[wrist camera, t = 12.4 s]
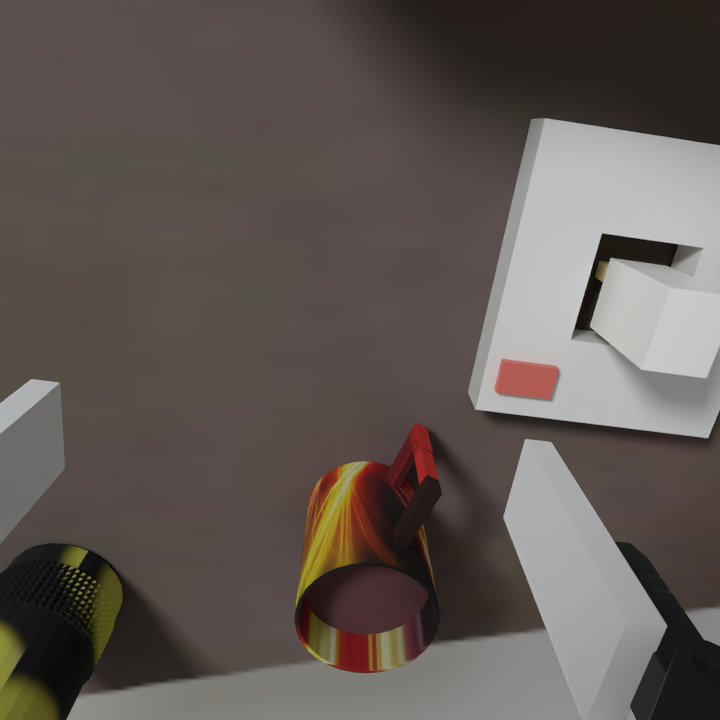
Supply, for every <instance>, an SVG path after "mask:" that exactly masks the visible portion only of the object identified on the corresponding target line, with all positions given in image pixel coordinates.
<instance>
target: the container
mask: <svg viewBox="0 0 720 720" xmlns="http://www.w3.org/2000/svg"><path fill="white" fill-rule="evenodd" d="M122 601H123V594H122V585H121V583H120V581H119V579H118V576H117V575H116V573H115V572H114V571H113V570H112V568H111V567H110V566H109V565H108V564H107V563H106V562H105V561H103V560H102V559H101V558H100V557H98V556H97V555H95V554H93V553H91V552H90V551H88V550H85V549H82V548H79V547H75V546H72V545H69V544H53V543H50V544H44V545H38V546H35V547H32V548H30V549H27V550H25V551H24V552H23V553H21V554H20V555H19V556H17V557H16V558H15V559H14V560H13V562H12V563H11V564H10V565H9V566H8V568H7V569H6V570H4V571H3V572H2V573H1V574H0V720H66V719H67V717H68V715H69V713H70V711H71V709H72V707H73V705H74V703H75V701H76V699H77V697H78V695H79V693H80V690H81V688H82V686H83V685H84V684H85V683H86V681H88V680H89V677H90V676H91V675H92V672H93V671H94V669H95V666H96V665H97V663H98V660H99V659H100V657H101V654H102V653H103V651H104V650H103V649H104V648H105V646H106V643H107V642H108V640H109V637H110V636H111V632H112V631H113V627H114V626H115V624H114V622H115V621H116V620H115V619H116V617H117V614H118V612H119V609H120V607H121V604H122Z"/></svg>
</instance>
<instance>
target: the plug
mask: <svg viewBox="0 0 720 720" xmlns="http://www.w3.org/2000/svg"><path fill="white" fill-rule="evenodd" d="M595 278H597V279H599V280H600V281H602V282H603V285H602V288H601V291H600V294H599V298H598V301H597V304H596V308H595V311H594V314H593V317H592V321H591V324H590V327H591V328H592V329H593V330H594V331H596V332H597V333H598V334H599V335H600V336H602V337H603V338H604V339H605V340H606V341H608V342H609V343H610V344H611V345H612V346H614V347H615V348H616V349H617V350H618V351H620V352H621V353H622V354H623V355H624V356H626V357H627V358H628V359H629V360H630V361H632V362H633V363H634V364H635V365H636V366H638V367H639V368H640V369H641V370H646V371H654V372H662V373H669V374H677V375H684V376H692V377H700V378H707V376H708V374H709V371H710V368H711V366H712V363H713V361H714V358H715V356H716V353H717V351H718V348H719V346H720V289H719V288H717V287H714V286H712V285H710V284H707V283H705V282H703V281H700V280H698V279H696V278H693V277H691V276H689V275H687V274H684V273H682V272H680V271H677V270H675V269H673V268H670V267H668V266H664V265H657V264H650V263H643V262H636V261H629V260H622V259H615V258H610V262H605V261H599V263H598V267H597V270H596V274H595Z"/></svg>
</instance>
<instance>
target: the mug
mask: <svg viewBox="0 0 720 720" xmlns="http://www.w3.org/2000/svg"><path fill="white" fill-rule="evenodd" d="M432 453H433V451H432V447H431V443H430V439H429V435H428V430H427V428H426V427H424V426H422V425H420V424H418V423H416V424H415V426H414V427H413V429H412V430H411V432H410V434H409V435H408V437H407V439H406V441H405V443H404V444H403V446H402V448H401V450H400V452H399V453H398V455H397V457H396V459H395V460H394V462H393V464H392V466H391V467H390V466H387V465H384V464H380V463H376V462H365V461H364V462H353V463H349V464H345V465H342V466H340V467H338V468H335V469H333V470H331V471H330V472H329V473H327V474H326V475H324V476H323V477H322V478H321V479H320V481H319V482H318V483H317V484H316V486H315V487H314V489H313V491H312V492H311V495H310V499H309V503H308V511H307V519H306V527H305V535H304V543H303V552H302V560H301V568H300V576H299V584H298V592H297V601H296V609H295V626H296V632H297V634H298V636H299V638H300V640H301V642H302V643H303V645H304V646H305V647H306V649H307V650H308V651H309V652H310V653H311V654H312V655H314V656H315V657H316V658H317V659H319V660H321V661H322V662H324V663H326V664H327V665H330V666H333V667H335V668H338V669H340V670H345V671H350V672H357V673H374V672H383V671H387V670H391V669H395V668H397V667H400V666H402V665H405V664H407V663H409V662H410V661H412V660H414V659H415V658H417V657H418V656H419V655H420V654H421V653H422V652H424V651H425V650H426V649H427V647H428V646H429V645H430V644H431V642H432V641H433V639H434V637H435V635H436V633H437V630H438V625H439V607H438V601H437V596H436V590H435V584H434V579H433V573H432V567H431V562H430V556H429V551H428V545H427V539H426V534H425V528H424V521H425V519H426V518H427V516H428V515H429V513H430V511H431V510H432V508H433V506H434V505H435V503H436V502H437V500H438V499H439V498H440V496H441V495H442V492H441V488H440V484H439V480H438V476H437V471H436V467H435V463H434V459H433V455H432ZM414 461H415V464H416V469H417V475H418V480H419V487H418V488H417V490H416V489H415V488H414V486H413V484H412V483H411V482H410V481H409V480H408V478H407V477H406V475H407V473H408V471H409V470H410V468H411V466H412V464H413V463H414Z"/></svg>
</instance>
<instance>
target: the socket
mask: <svg viewBox="0 0 720 720" xmlns="http://www.w3.org/2000/svg"><path fill="white" fill-rule="evenodd" d="M602 233H604V234H611V235H618V236H624V237H631V238H638V239H645V240H652V241H659V242H666V243H673V244H678V247H677V250H676V253H675V256H674V259H673V262H672V265H671V268H673V269H675V270H677V271H680V272H682V273H684V274H687V275H689V276H691V277H693V278H696V279H698V280H700V281H703V282H705V283H707V284H710V285H712V286H714V287H717V288H719V289H720V145H714V144H707V143H701V142H694V141H688V140H682V139H675V138H669V137H662V136H656V135H650V134H643V133H637V132H630V131H624V130H618V129H611V128H605V127H598V126H592V125H585V124H579V123H573V122H566V121H560V120H553V119H547V118H541V119H531V122H530V126H529V130H528V135H527V139H526V143H525V148H524V152H523V156H522V161H521V165H520V169H519V174H518V178H517V182H516V187H515V191H514V195H513V200H512V204H511V208H510V212H509V217H508V221H507V225H506V230H505V234H504V238H503V243H502V247H501V251H500V256H499V260H498V264H497V269H496V273H495V277H494V282H493V286H492V290H491V295H490V299H489V303H488V308H487V312H486V316H485V321H484V325H483V329H482V334H481V338H480V342H479V346H478V351H477V355H476V359H475V364H474V368H473V372H472V377H471V381H470V385H469V390H468V394H469V396H470V398H471V400H472V403H473V405H474V407H475V409H476V410H484V411H492V412H500V413H508V414H516V415H524V416H533V417H541V418H549V419H557V420H565V421H573V422H581V423H589V424H597V425H605V426H614V427H622V428H630V429H638V430H646V431H654V432H662V433H670V434H678V435H686V436H695V437H703V438H708V437H709V435H710V432H711V430H712V428H713V425H714V423H715V420H716V418H717V415H718V413H719V411H720V346H719V348H718V351H717V353H716V356H715V358H714V361H713V363H712V366H711V368H710V371H709V374H708V376H707V378H700V377H692V376H684V375H677V374H669V373H662V372H654V371H646V370H641V369H640V368H639V367H638V366H636V365H635V364H634V363H633V362H632V361H630V360H629V359H628V358H627V357H626V356H624V355H623V354H622V353H621V352H620V351H618V350H617V349H616V348H615V347H614V346H612V345H611V344H610V343H609V342H608V341H606V340H605V339H604V338H603V337H602V336H600V335H599V334H598V333H597V332H595V331H587V330H580V329H574V327H575V324H576V320H577V317H578V314H579V310H580V307H581V303H582V300H583V296H584V293H585V290H586V286H587V283H588V279H589V276H590V273H591V269H592V266H593V262H594V259H595V256H596V252H597V249H598V245H599V242H600V239H601V235H602Z"/></svg>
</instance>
